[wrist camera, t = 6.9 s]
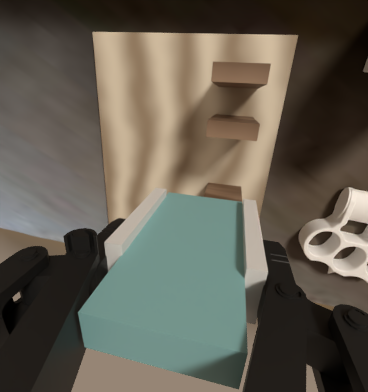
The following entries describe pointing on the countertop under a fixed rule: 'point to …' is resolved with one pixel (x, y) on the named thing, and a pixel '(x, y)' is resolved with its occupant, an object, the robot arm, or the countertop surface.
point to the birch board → (184, 113)
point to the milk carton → (366, 66)
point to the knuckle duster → (341, 236)
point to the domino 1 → (177, 293)
